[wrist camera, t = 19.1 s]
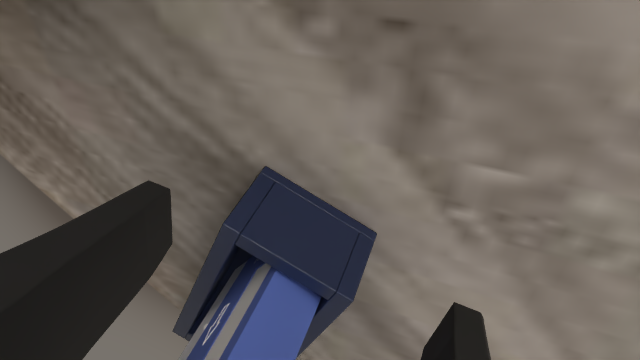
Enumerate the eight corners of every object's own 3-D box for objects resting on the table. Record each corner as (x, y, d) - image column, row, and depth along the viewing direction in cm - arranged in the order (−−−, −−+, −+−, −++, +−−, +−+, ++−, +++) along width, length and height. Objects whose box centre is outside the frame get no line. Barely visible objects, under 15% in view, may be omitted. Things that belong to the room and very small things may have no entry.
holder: (209, 276, 32) (172, 331, 28) (265, 165, 24) (222, 223, 21) (294, 326, 32) (267, 387, 29) (377, 233, 24) (353, 302, 21)
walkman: (303, 217, 24) (177, 449, 16) (341, 250, 25) (240, 493, 16) (232, 270, 29) (105, 467, 21) (264, 296, 30) (155, 500, 21)
